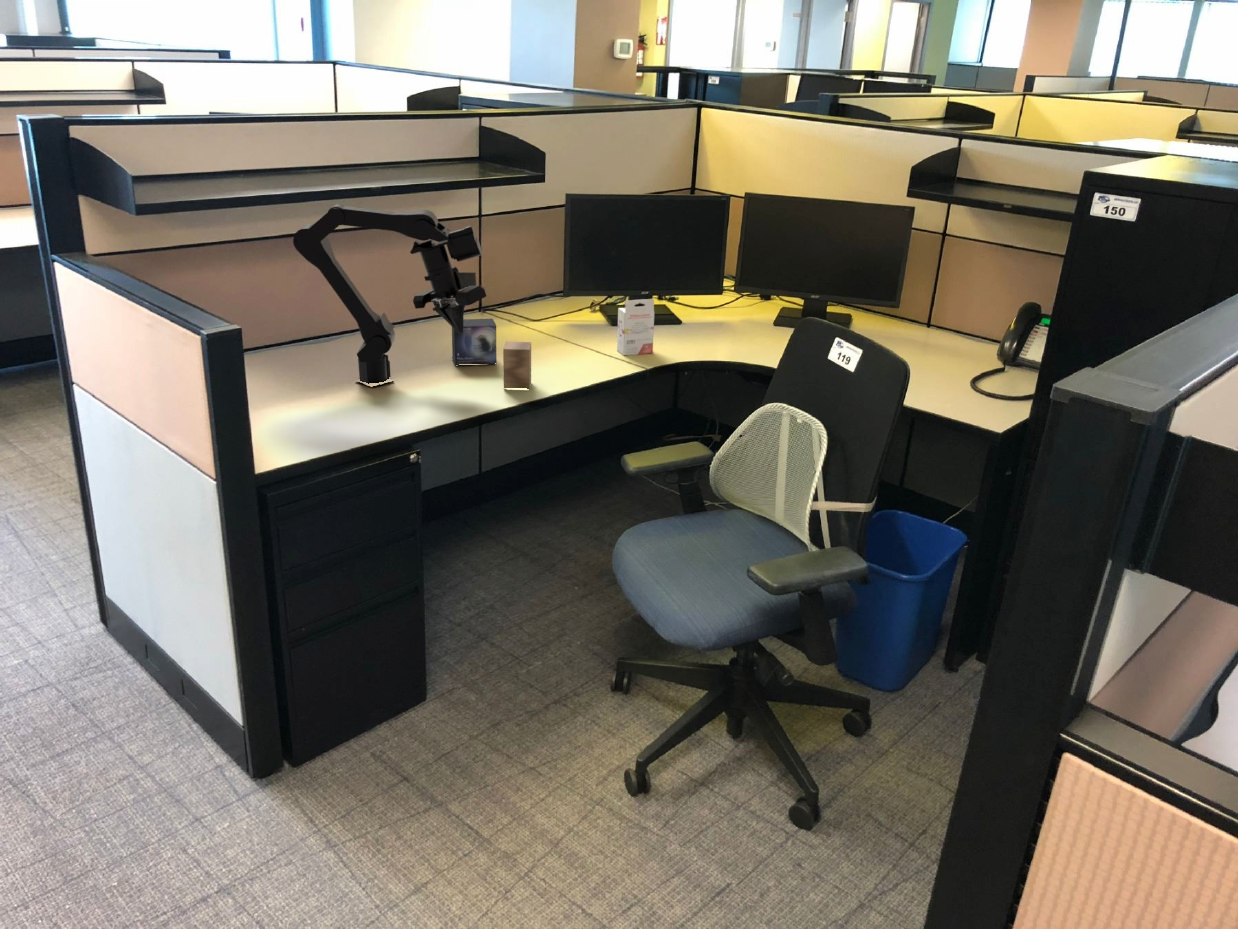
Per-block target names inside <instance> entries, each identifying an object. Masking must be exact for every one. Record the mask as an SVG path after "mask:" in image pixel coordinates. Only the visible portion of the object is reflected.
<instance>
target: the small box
mask: <svg viewBox="0 0 1238 929" xmlns="http://www.w3.org/2000/svg"><path fill="white" fill-rule="evenodd" d="M451 348H452V349H451V352H452V356H451V359H453V360H452V362H453V361H454V362H453V365H454V364H455V365H459V364H495V363H497V324H496V322H495V320H494V318H466V319H465V318H463V332H461V333H458V332H457V331H456V330H455V329H454V328H453V327H452V326H451ZM455 365H454V366H455Z"/></svg>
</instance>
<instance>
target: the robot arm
mask: <svg viewBox="0 0 1238 929" xmlns="http://www.w3.org/2000/svg"><path fill="white" fill-rule="evenodd" d="M339 226H348V227H354V228H355V227H356V228H364V229H365V228H366V229H372V230H373V229H374V230H381V231H389V232H390V231H391V232H395V233H398V234H400V235H403V236H405V237H408V238H412V239H414V241H413V245H412V248H411V249H410V251H409V253H410V254H411V255H413V254H417V253H419V254H420V256H421V261H422V262H423V265H424V268H425V272H426V275H425V276H423V277H424V280H425V282H429V283H430V285H431V288H429V289H428V288H427V289H425V290H424V291H422V292H419V293H417V294H416V295H413V296H414V297H413V300H412V302H413V305H414V308H415V309H424V308H426V304H429V303H432V304H433V307H432V311H433V312H436V313H437V314H439V316H440V317H441V318H442V319H443V320H445V321H446V322H447V323H448V324H449V326H451V328H452V327H453V328H454V329H455V330H456V331H457V332H458V333H461V332H463V319H464V315H465V314H464V313H465V312H464V311H465V307H466V306H471V305H473V304H475V303H477V302H479V301H481V300H482V299H484V298H486V297H487V293H486V289H485V287H483V285H480V284H478V285H477V276H476V272H460V271H459V269H458V268H457V266H452V263H451V260H450V258H451V259H452V260H456V261H457V262H458V263H459V262H462V261H466V260H470V259H473V258H476V257H480V256H483V251H482V247H481V244H480V241H479V237H477V234H476V232H475V230H474V227H473V225H472V224H471V225H466V226H464V227H463V228H459V229H457V230H453V231H451V230H450V229H449V228H448V227H447V226H445V225H444V224H442V223H441V222H439V220H438V218H437V216H436V215H435V213H434V212H433V211H431V210H429V209H414V210H412V209H411V210H405V211H391V210H390V211H389V210H383V209H382V210H379V209H371V208H363V207H356V206H347V205H343V204H340V203H339V204H337V203H336V204H335V205H333V206H332V207H330V208H329V209H328V210H327V212H326V213H325V214H324V215H322V216H321V218H320V219H318V220H317V221H316V222H315V223H308V224H307V223H306V224H305V225H303V226H302V227H301V228H300V229H298V230H297V231H296V232H295V233H294V234H293V238H292V243H293V247H294V249H295V250H296V251H297V252H298V253H299V254H300V255H301V257H303V258H304V259H305V260H306V261H307V262H308V263H309V264H311V265H313V266H314V267H316V268H317V269H318V271H320V273H321V274H322V276H323V277H324V278H325V280H326V281H327V282H328V284H329V285H330V287H331V288H332V290H333V291H334V292H335V294H336V296H338V299H339V300H341V302H342V304H343V305H344V306H345V308H346V309H347V310H348V312H349V313H350V314H351V316H352V317H353V319H354V320H355V322H356V323H357V327H358V330H359V332H360V335H361V338H362V339H363V343H362V344H361V346H360V347H359V349H358V351H357V352H356V356H357V362H358V375H359V376H358V377H359V378H358V379H360V381H362V382H366V383H368V384H369V383H379V382H384V381H386V380H387V379H389V377H390V378H391V377H392V375H391V362H390V360H389V355H388V352H389V351H390V350H391V347H392V346H393V344H394V341H395V339H396V332H395V330H394V328H395V325H394V324H393V323H392V322H391V321H390V320H389V318H388V317H387V314H386V313H385V312H383V313H381V314H380V315H379V314H378V313H376V312H375V311H374V310H373V309H372V308H371V307H370V305H369V304H368V303H367V301H366V300H365V298H364V297H363V296H362V294H361V293H360V291H359V289H357V287H356V285H355V284H354V283H353V282H352V280H351V278H350V277H349V275H348V274H347V273H346V271H345V270H344V269H343V267H342V266H341V265H340V263H339V261H338V260H337V259H336V256H335V255H334V250H333V247H332V245H331V243H330V240H329V238H328V236H329V235H330V234H331V233H332V232H333V231H335V230H337V228H338V227H339ZM420 241H422V242H420ZM446 247H447V248H446ZM449 256H450V257H449Z"/></svg>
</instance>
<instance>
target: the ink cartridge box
mask: <svg viewBox="0 0 1238 929" xmlns="http://www.w3.org/2000/svg"><path fill="white" fill-rule="evenodd" d="M624 303H625V304H624V305H625V306H624V307H618V309H617V336H616V337H617V340H616V342H617V343H616V350H617V352H618V353H620V354H621V355H622V356H624V355H627V356H636V355H647V354H649V355H650V354H653V351H654V330H655V328H654V327H655V300H654V298H648V299H647V298H646V299H645V298H641V299H631V300H630V299H629V300H628V299H627V300H625V302H624ZM639 304H641V305H642V306H636V305H639Z"/></svg>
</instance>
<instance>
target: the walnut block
mask: <svg viewBox="0 0 1238 929" xmlns="http://www.w3.org/2000/svg"><path fill="white" fill-rule="evenodd" d="M502 354H503V357H502V359H503V370H502V371H503V389H504V388H527V389H530V390H531V386H530V384H531V385H532V342H530V341H505V342H504V346H503V349H502Z"/></svg>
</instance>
